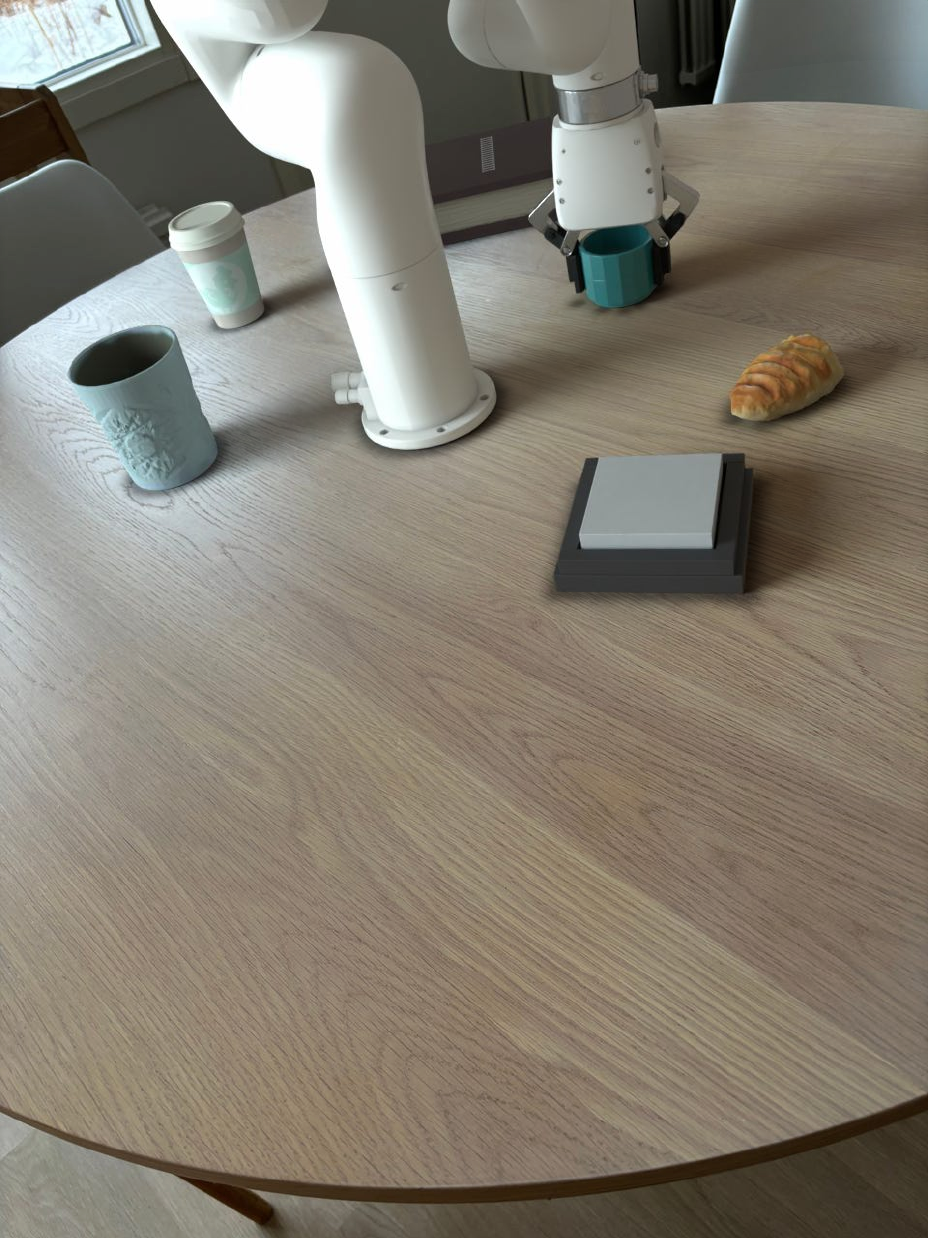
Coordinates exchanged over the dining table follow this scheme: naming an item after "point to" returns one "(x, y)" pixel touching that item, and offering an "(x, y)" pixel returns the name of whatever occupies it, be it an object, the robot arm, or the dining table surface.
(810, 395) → the pastry
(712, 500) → the pan
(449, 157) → the book
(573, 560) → the scale
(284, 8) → the robot arm
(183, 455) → the embossed blue pot
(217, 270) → the coffee cup
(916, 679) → the dining table surface
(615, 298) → the teal faceted cup
